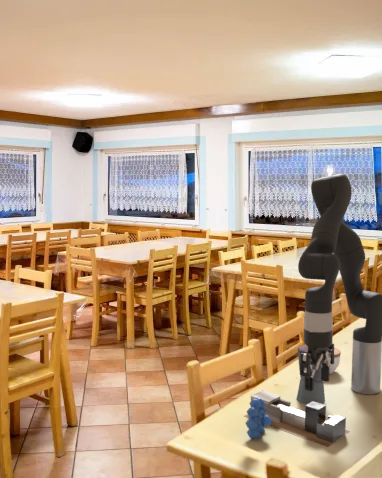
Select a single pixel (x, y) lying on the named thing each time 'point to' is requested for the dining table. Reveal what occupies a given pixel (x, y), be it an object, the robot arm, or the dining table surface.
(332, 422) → the socket
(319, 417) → the grey block
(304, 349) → the moka pot
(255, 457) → the dining table surface
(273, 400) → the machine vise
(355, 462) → the dining table surface
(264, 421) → the grapes
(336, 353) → the lidded jar
